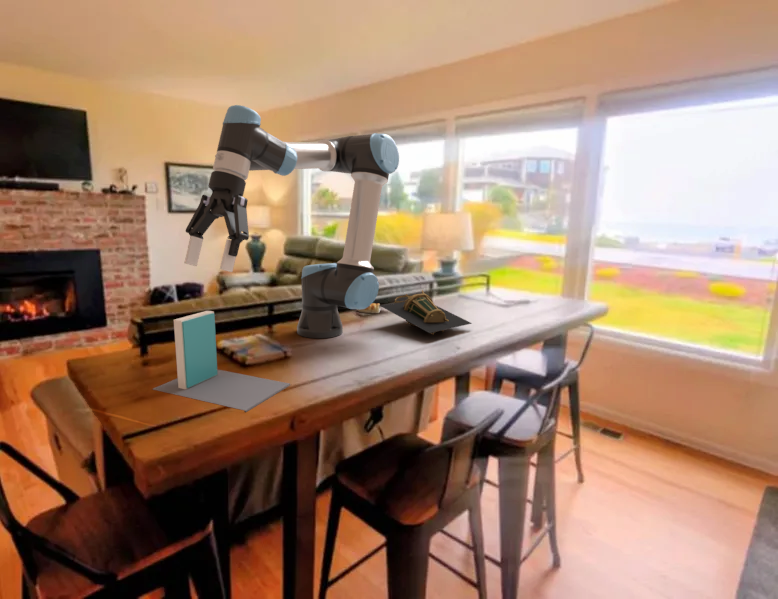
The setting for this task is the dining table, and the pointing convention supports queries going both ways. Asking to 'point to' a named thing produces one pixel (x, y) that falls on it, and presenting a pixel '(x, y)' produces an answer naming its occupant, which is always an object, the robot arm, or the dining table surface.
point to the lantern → (424, 313)
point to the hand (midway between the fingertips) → (207, 267)
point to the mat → (229, 390)
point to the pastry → (371, 308)
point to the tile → (195, 348)
